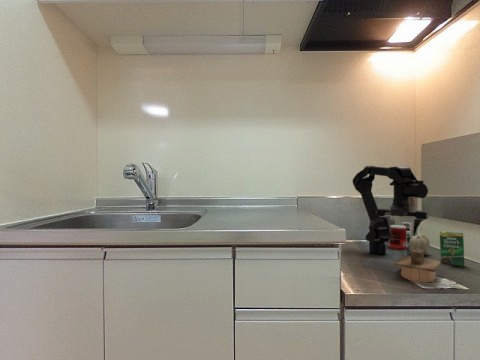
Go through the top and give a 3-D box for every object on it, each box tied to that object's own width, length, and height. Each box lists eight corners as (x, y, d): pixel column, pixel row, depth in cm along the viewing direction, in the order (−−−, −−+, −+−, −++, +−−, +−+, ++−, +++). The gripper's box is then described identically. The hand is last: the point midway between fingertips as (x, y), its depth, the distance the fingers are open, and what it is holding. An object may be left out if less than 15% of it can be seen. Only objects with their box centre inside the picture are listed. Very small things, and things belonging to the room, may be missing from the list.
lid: (394, 265, 104) (394, 251, 104) (402, 257, 114) (402, 245, 113) (434, 272, 97) (434, 257, 97) (440, 263, 106) (440, 250, 106)
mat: (358, 266, 120) (358, 265, 120) (370, 259, 130) (370, 257, 130) (396, 273, 111) (396, 272, 110) (406, 265, 121) (406, 263, 121)
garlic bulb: (427, 253, 139) (427, 231, 139) (435, 257, 131) (434, 235, 131) (405, 252, 141) (405, 231, 141) (411, 256, 133) (410, 234, 133)
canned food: (404, 246, 152) (404, 225, 152) (408, 250, 144) (407, 227, 144) (388, 245, 154) (388, 224, 154) (390, 249, 147) (390, 227, 147)
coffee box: (439, 263, 122) (439, 231, 122) (440, 262, 124) (440, 230, 124) (464, 267, 117) (463, 234, 117) (464, 265, 119) (464, 232, 119)
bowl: (398, 279, 105) (398, 265, 105) (405, 272, 112) (405, 258, 112) (432, 285, 98) (431, 270, 98) (437, 277, 106) (436, 263, 106)
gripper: (371, 197, 124) (371, 234, 124) (423, 198, 111) (423, 240, 111) (379, 195, 132) (380, 230, 132) (429, 197, 120) (429, 235, 120)
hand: (401, 234), depth 124 cm, fingers open, 9 cm apart
